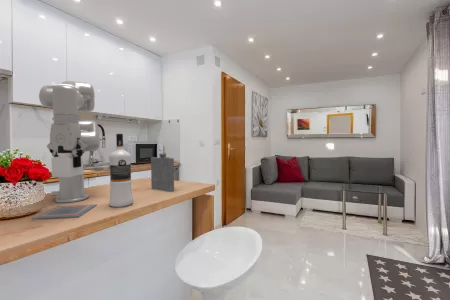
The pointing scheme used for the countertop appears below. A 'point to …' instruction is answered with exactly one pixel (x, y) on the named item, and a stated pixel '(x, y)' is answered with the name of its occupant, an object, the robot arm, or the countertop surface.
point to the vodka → (120, 176)
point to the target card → (65, 212)
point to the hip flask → (162, 173)
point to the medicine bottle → (65, 164)
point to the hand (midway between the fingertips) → (67, 166)
